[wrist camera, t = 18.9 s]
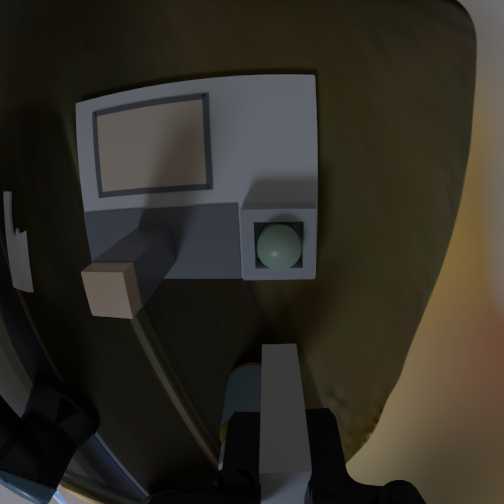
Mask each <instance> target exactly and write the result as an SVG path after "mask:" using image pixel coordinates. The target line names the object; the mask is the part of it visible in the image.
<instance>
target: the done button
mask: <svg viewBox="0 0 504 504" xmlns="http://www.w3.org/2000/svg"><path fill="white" fill-rule="evenodd" d="M257 252H258V256H259V258H260V260H261V262H262V263H263V264H264V265H266V266H267V267H269V268H271V269H274V270H284V269H287V268H290V267H291V266H293V265H294V264H295V263H296V262H297V261H298V259H299V257H300V255H301V243H300V240H299V236H298V233H297V231H296V229H295V227H294V226H293V225H292V224H291V223H289V222H268V223H266V224H265V225H264V226H263V227H262V229H261V230H260V233H259V238H258V246H257Z"/></svg>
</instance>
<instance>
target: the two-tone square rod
mask: <svg viewBox="0 0 504 504" xmlns="http://www.w3.org/2000/svg"><path fill="white" fill-rule="evenodd" d="M175 263H176V257H175V249H174V240H173V231H172V226H163V227H140V228H136V229H135V230H134V231H132V232H131V233H129V234H128V235H127V236H125V237H124V238H122V239H121V240H120V241H118V242H117V243H116V244H114V245H113V246H112V247H110V248H109V249H107V250H106V251H105V252H103V253H102V254H101V255H99V256H98V257H97V258H95V259H94V260H93V261H92V264H90V265H89V266H88V267H87V268H85V269H84V270H83V271H81V274H82V278H83V282H84V286H85V290H86V294H87V298H88V302H89V305H90V309H91V312H92V315H93V316H105V317H118V318H134V316H135V315H136V313H137V312H138V311H139V309H140V308H141V307H144V305H145V304H146V302H147V301H148V300H149V298H150V297H151V295H152V294H153V293H154V291H155V290H156V288H157V287H158V286H159V284H160V283H161V282H162V280H163V279H164V277H165V276H166V275H167V273H168V272H169V271H170V269H171V268H172V267H173V265H174V264H175Z"/></svg>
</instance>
